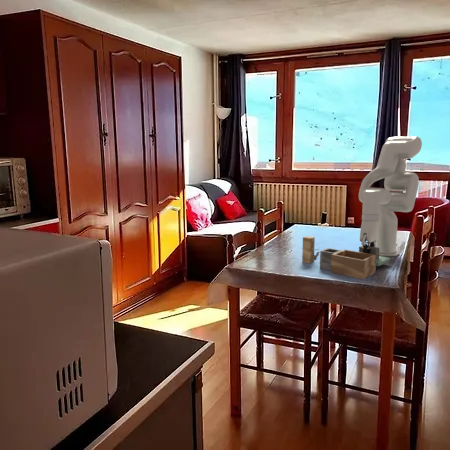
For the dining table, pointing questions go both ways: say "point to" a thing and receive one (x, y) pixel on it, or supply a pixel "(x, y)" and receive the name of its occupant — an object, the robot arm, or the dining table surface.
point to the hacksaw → (316, 254)
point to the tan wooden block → (308, 249)
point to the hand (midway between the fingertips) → (368, 255)
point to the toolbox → (348, 262)
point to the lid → (375, 251)
